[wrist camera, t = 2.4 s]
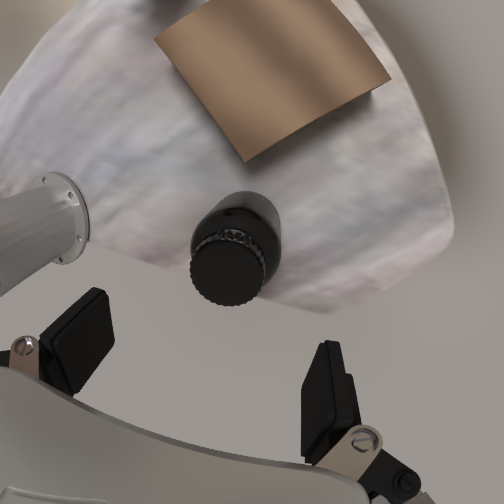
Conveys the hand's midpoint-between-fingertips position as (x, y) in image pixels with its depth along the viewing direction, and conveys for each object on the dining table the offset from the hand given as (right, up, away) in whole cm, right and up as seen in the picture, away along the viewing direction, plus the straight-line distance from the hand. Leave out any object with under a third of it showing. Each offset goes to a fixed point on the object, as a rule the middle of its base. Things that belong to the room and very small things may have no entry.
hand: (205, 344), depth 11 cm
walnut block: (+4, +22, +11) cm, 25 cm away
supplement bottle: (+2, +7, +17) cm, 19 cm away
